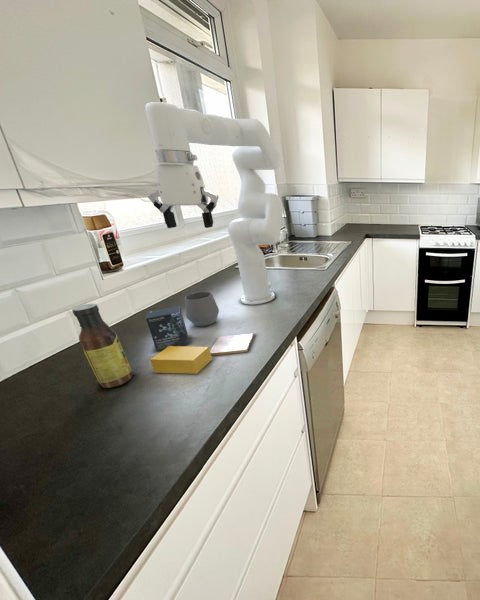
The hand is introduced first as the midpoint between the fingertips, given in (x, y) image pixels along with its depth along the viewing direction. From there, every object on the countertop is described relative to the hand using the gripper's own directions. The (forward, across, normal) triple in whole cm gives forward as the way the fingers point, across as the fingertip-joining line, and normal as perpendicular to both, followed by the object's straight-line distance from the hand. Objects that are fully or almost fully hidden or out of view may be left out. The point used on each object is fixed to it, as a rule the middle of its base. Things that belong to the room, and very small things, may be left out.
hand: (190, 227), depth 86 cm
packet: (+34, 0, +17) cm, 38 cm away
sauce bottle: (+34, +13, +22) cm, 43 cm away
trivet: (+33, -8, +6) cm, 35 cm away
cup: (+33, +7, -9) cm, 35 cm away
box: (+34, +10, +4) cm, 35 cm away
